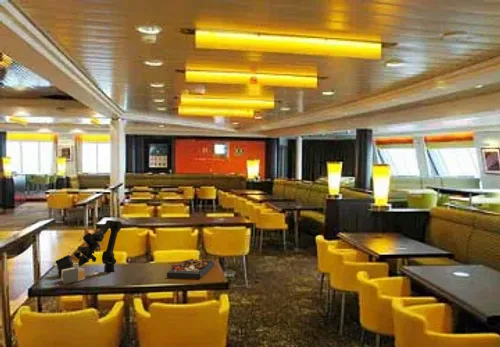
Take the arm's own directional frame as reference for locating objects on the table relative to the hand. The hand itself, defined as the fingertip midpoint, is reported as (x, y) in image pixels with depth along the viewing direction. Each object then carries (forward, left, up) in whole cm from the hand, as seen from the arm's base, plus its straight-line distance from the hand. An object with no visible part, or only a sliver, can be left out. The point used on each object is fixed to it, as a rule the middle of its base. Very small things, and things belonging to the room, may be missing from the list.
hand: (77, 266), depth 347 cm
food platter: (-80, +19, -11) cm, 83 cm away
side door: (+5, +2, -10) cm, 11 cm away
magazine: (+2, -23, -10) cm, 26 cm away
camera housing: (+1, -6, -10) cm, 12 cm away
